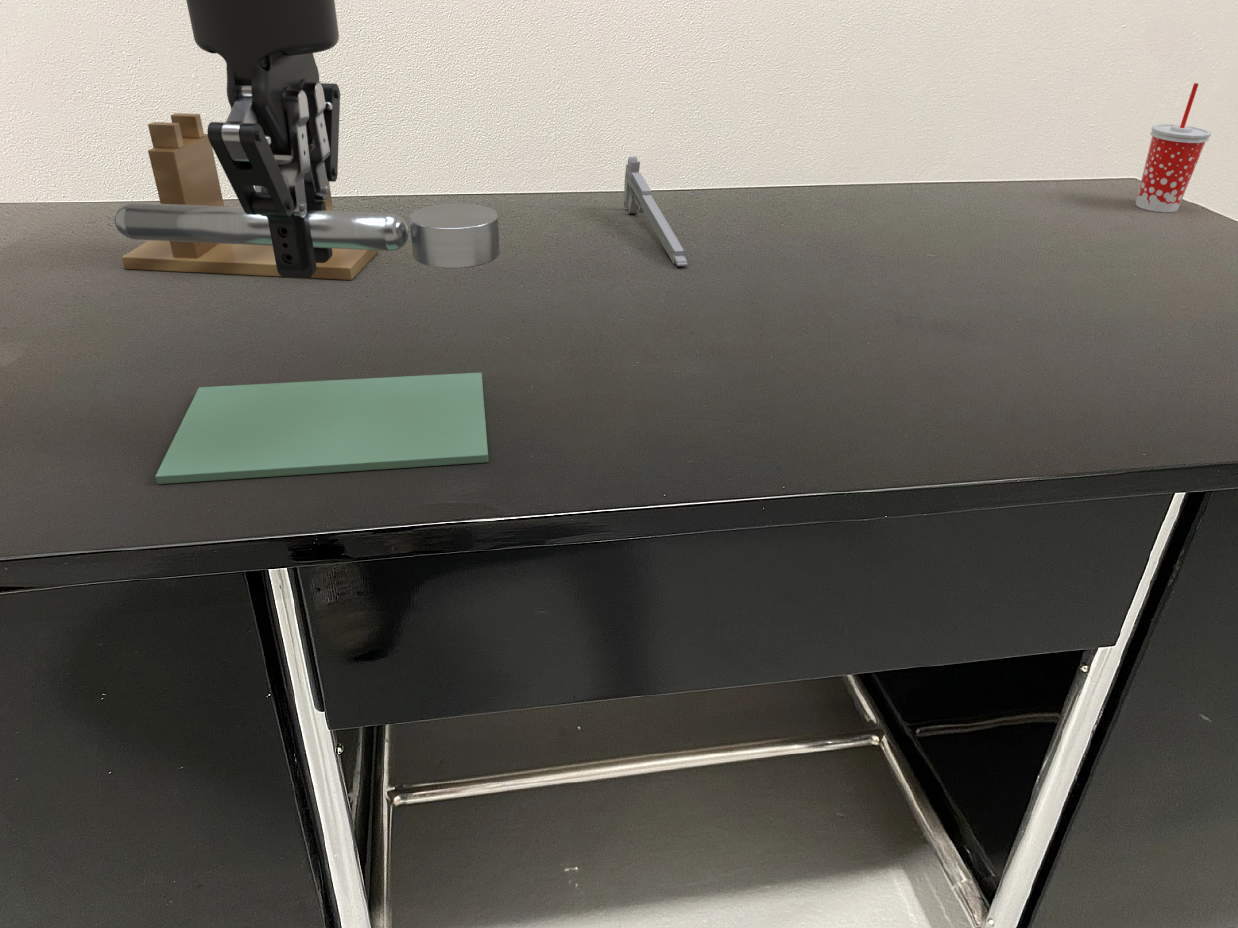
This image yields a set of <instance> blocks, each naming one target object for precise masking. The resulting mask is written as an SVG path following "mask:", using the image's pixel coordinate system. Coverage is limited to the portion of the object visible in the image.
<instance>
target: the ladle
mask: <svg viewBox="0 0 1238 928" xmlns="http://www.w3.org/2000/svg"><path fill="white" fill-rule="evenodd" d="M306 215H308V216H309V223H310V229H311V237H312V242H313V247H314V248H337V249H359V250H378V251H382V252H383V251H384V252H386V251H387V252H391V251H392V252H393V251H398V250H400V249H402V248H403V247H404V246H405V245H406V243H407V242H408V239H409V237H410V238H411V239H410V240H411V250H412V257H413V259H414V260H415V261H416V262H417V263H419V264H421V265H423V266H427V267H431V268H437V269H453V270H454V269H466V268H468V269H469V268H474V267H480V266H483V265H486V264H489V263H491V262H494V261H495V260H496V259H498V258H499V256H500V254H501V250H500V249H501V248H500V232H499V231H500V230H499V215H498V212H497V211H496V210H494V209H493V208H492V207H488V206H485V205H481V204H475V203H465V202H464V203H462V202H457V203H456V202H451V203H440V204H433V205H432V204H431V205H427V206H424V207H421V208H418V209H417V210H414V211H413V212H412V213H410V215H409V227H408V224H407V223H406V221H405V220H404V219H403V218H402V217H400V216H399V215H398V214H395V213H389V212H367V211H365V212H364V211H345V210H343V211H341V210H333V211H321V210H307V213H306ZM113 219H114V225H115V227H116V229H117V231H118V232H119V233H120V234H121V235H123V237H125V238H127V239H130V240H136V241H137V240H138V241H148V240H156V241H179V242H201V243H224V244H247V245H269V246H273V245H272V239H271V234H270V229H269V223H268V218H267V217H266V216H261V215H259V214H257V215H248V214H246V213H245V212H244V210H243V208H242V206H226V205H224V206H201V205H177V204H161V203H150V202H127V203H124V204H122V205H120V206H119V207H118V208H117V210H116V211H115V213H114V218H113ZM409 229H410V233H409ZM409 234H410V236H409Z"/></svg>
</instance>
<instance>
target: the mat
mask: <svg viewBox="0 0 1238 928" xmlns="http://www.w3.org/2000/svg"><path fill="white" fill-rule="evenodd" d="M484 397H485V396H484V385H483V373H482V372H465V373H446V374H445V373H443V374H424V375H407V376H406V375H405V376H387V377H385V376H384V377H370V378H351V379H329V380H311V381H294V382H292V381H290V382H274V383H273V382H271V383H256V384H253V383H252V384H236V385H219V386H218V385H217V386H215V385H214V386H199V387H198V389H197V391H196V392H195V394H194V396H193V398H192V401H191V402H190V405H189V406H188V409H187V410H186V413H185V415H184V417H183V419H182V421H181V423H180V425H179V427H178V429H177V431H176V433H175V436H174V437H173V439H172V441H171V443H170V445H169V448H168V450H167V452H166V453H165V456H164V457H163V460H162V462H161V464H160V466H159V468H158V470H157V471H156V473H155V480H156V484H157V485H165V484H166V485H168V484H181V483H182V484H183V483H197V482H198V483H199V482H214V481H226V480H227V481H228V480H242V479H259V478H271V477H272V478H273V477H274V478H275V477H287V476H303V475H318V474H334V473H348V472H361V471H362V472H364V471H365V472H366V471H378V470H392V469H407V468H408V469H409V468H422V467H437V466H439V467H440V466H451V465H452V466H453V465H454V466H455V465H470V464H483V463H484V464H485V463H489V449H488V438H487V437H488V435H487V426H486V425H487V423H486V422H487V421H486V412H485V410H486V409H485V399H484Z"/></svg>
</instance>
